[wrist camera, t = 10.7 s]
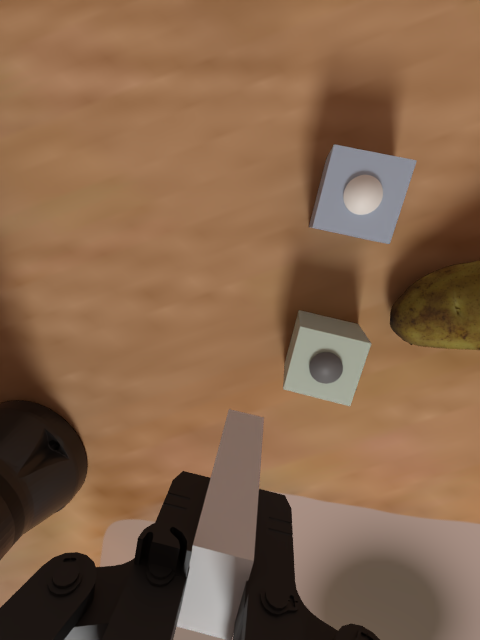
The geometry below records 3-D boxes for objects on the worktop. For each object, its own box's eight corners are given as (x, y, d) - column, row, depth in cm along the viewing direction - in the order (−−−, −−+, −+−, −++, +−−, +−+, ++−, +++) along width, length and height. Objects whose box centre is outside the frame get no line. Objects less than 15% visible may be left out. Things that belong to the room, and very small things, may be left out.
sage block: (343, 378, 37) (353, 408, 31) (284, 363, 37) (283, 390, 31) (360, 324, 35) (375, 345, 29) (298, 309, 35) (300, 327, 29)
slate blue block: (375, 241, 33) (393, 244, 27) (308, 226, 33) (312, 227, 27) (396, 173, 31) (421, 160, 25) (326, 159, 31) (334, 143, 25)
